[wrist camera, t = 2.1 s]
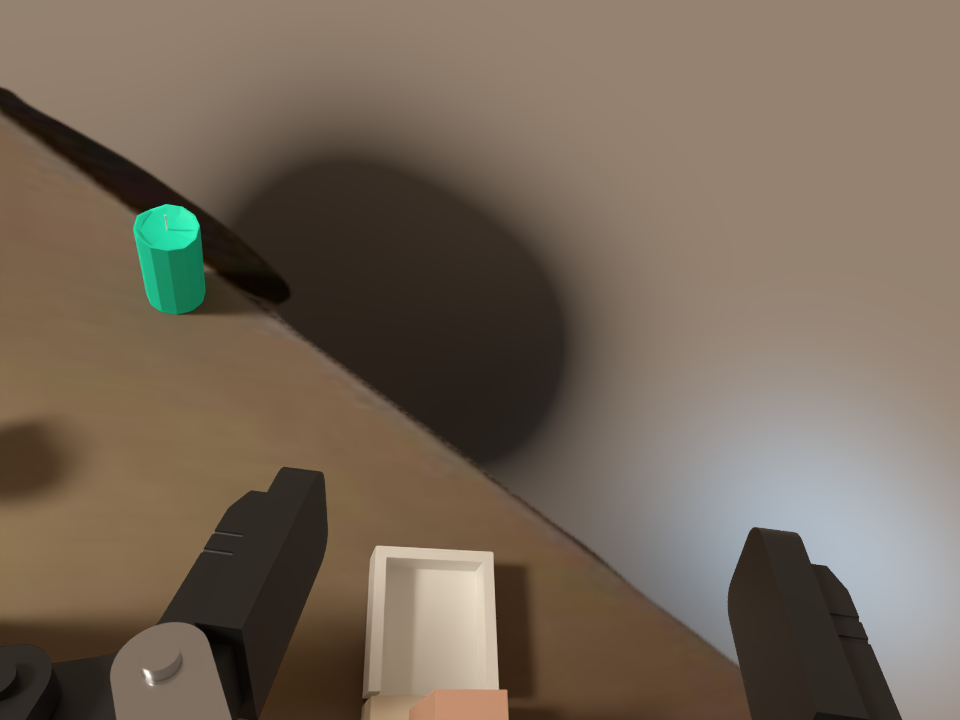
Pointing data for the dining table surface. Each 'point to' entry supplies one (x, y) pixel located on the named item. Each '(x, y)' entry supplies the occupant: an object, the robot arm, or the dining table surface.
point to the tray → (430, 622)
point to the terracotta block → (462, 705)
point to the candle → (171, 258)
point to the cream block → (389, 707)
